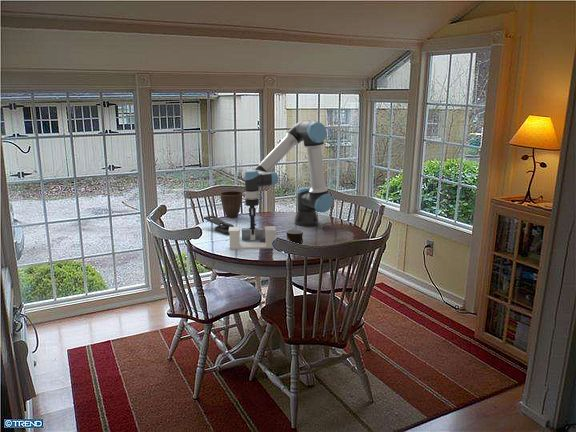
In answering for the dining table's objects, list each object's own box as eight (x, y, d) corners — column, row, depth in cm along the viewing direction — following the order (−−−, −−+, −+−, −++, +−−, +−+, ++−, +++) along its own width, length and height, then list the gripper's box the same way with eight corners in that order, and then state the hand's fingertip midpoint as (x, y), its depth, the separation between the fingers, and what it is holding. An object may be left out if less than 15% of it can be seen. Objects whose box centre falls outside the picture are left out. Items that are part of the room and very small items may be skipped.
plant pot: (220, 219, 320) (220, 195, 316) (220, 214, 334) (219, 191, 330) (243, 219, 322) (243, 195, 318) (242, 213, 336) (241, 190, 333)
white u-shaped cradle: (275, 243, 269) (275, 226, 266) (276, 248, 261) (275, 230, 259) (229, 244, 267) (229, 226, 265) (229, 249, 259) (228, 230, 257)
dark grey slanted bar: (213, 214, 306) (239, 222, 289) (214, 225, 308) (239, 232, 290) (201, 217, 300) (227, 224, 283) (202, 227, 302) (227, 235, 284)
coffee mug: (285, 247, 262) (285, 229, 260) (301, 247, 263) (301, 229, 260) (287, 254, 251) (287, 235, 248) (304, 254, 252) (304, 235, 249)
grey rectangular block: (263, 238, 280) (263, 228, 278) (263, 240, 276) (263, 229, 275) (242, 238, 279) (242, 228, 278) (241, 240, 276) (241, 230, 274)
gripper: (245, 195, 280) (246, 234, 286) (244, 201, 263) (246, 243, 269) (258, 194, 281) (259, 234, 286) (258, 201, 264) (259, 242, 269)
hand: (252, 238), depth 278 cm, fingers open, 5 cm apart
